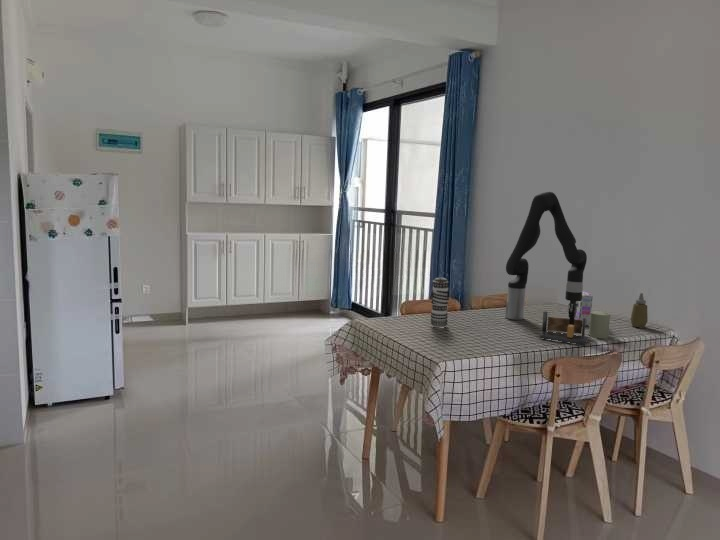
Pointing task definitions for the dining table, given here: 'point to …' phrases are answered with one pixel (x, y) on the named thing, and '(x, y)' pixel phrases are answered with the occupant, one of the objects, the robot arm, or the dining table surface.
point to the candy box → (584, 308)
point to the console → (564, 338)
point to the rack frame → (558, 332)
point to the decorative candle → (439, 302)
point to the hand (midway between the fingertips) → (571, 325)
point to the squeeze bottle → (639, 312)
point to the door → (563, 324)
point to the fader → (570, 331)
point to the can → (599, 324)
